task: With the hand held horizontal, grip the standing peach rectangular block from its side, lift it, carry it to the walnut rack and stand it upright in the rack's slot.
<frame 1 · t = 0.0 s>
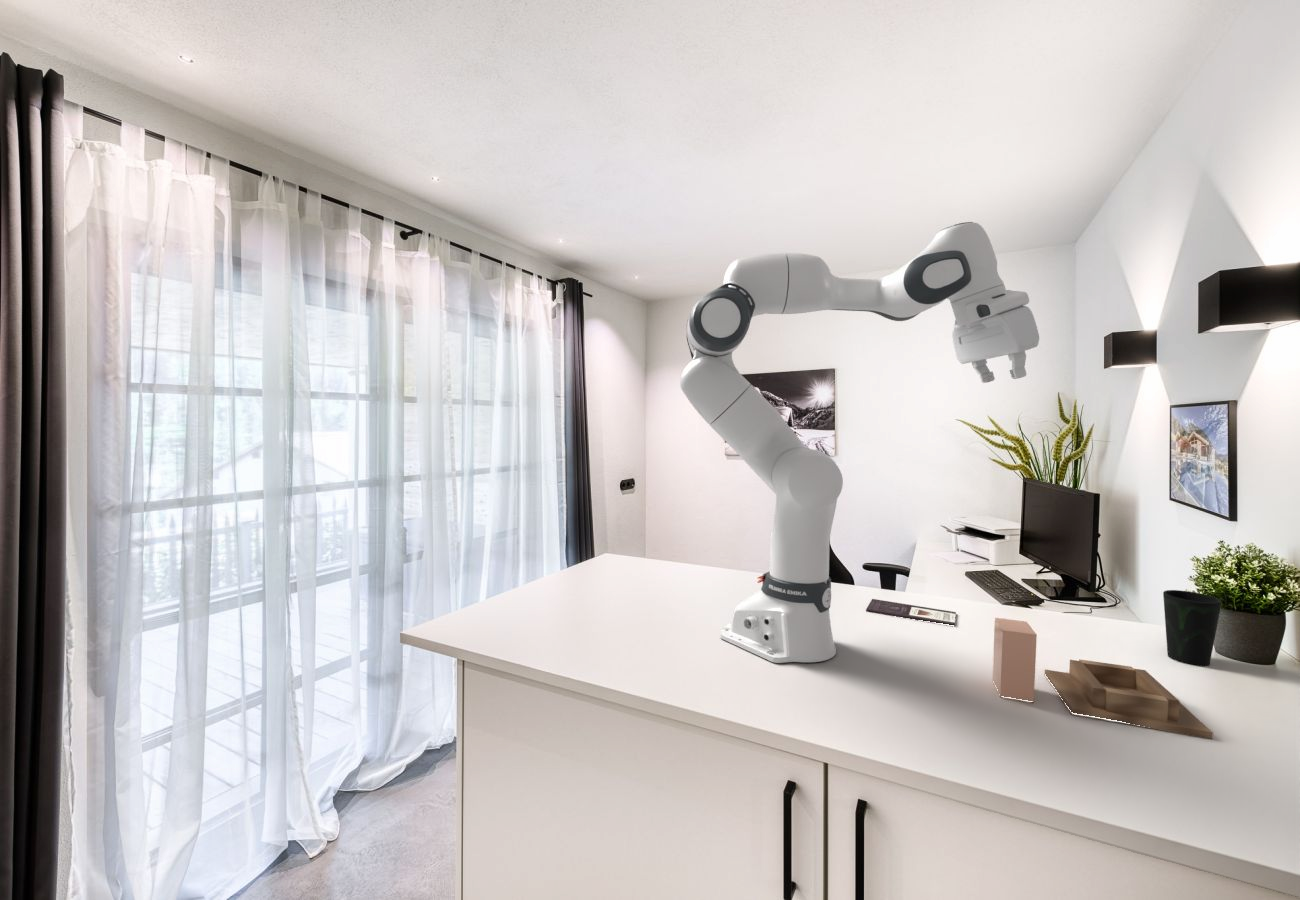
hand: (1003, 379, 101), 52 cm above the cabinet, tool tilted 20°, fingers open, 8 cm apart
chocolate bar: (910, 615, 125), on the cabinet
rack: (1118, 703, 85), on the cabinet
peach rectangular block: (1012, 691, 88), on the cabinet
cup: (1188, 660, 101), on the cabinet
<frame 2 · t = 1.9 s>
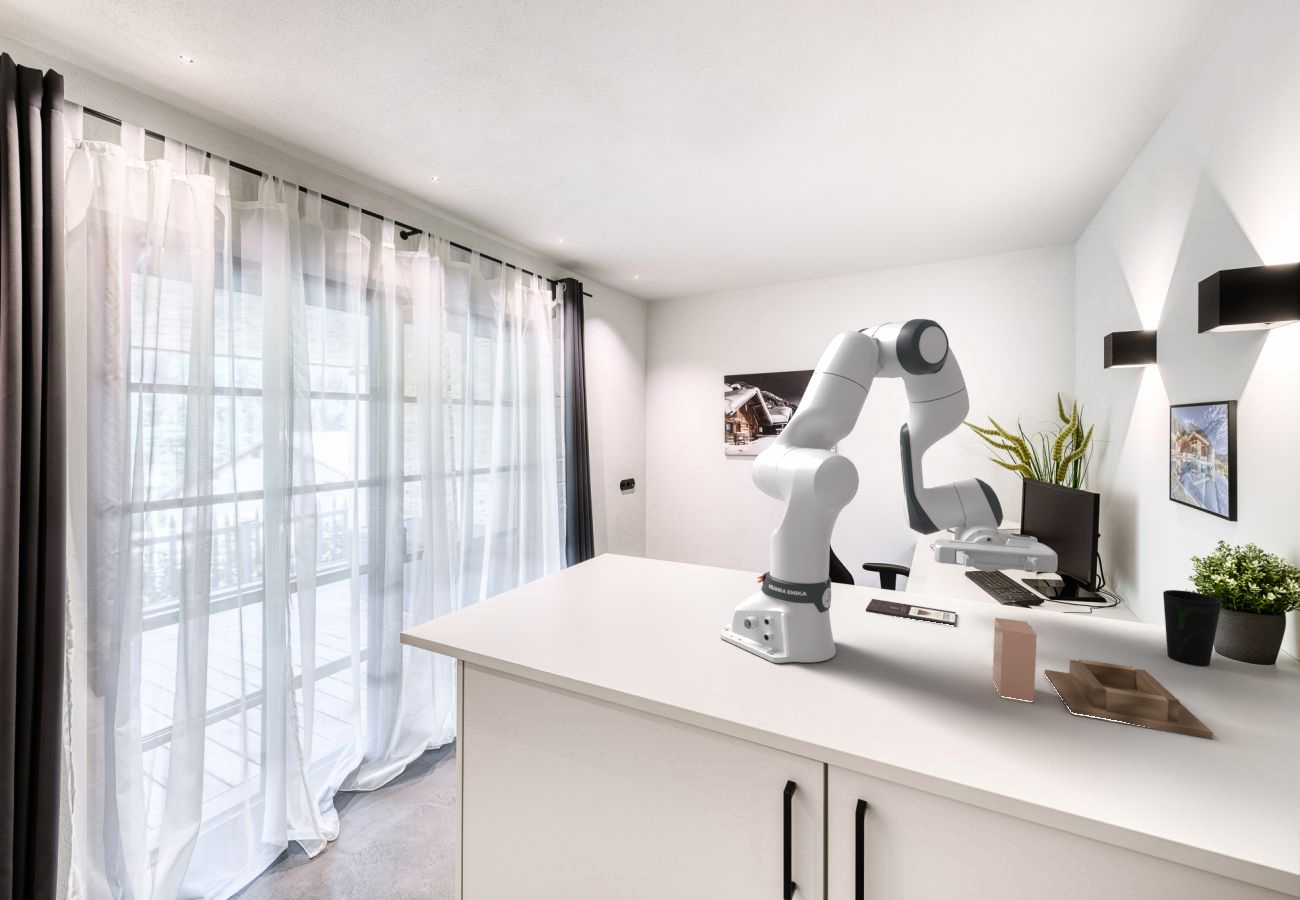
hand: (1000, 565, 99), 18 cm above the cabinet, tool horizontal, fingers open, 8 cm apart
nothing on the cabinet moved.
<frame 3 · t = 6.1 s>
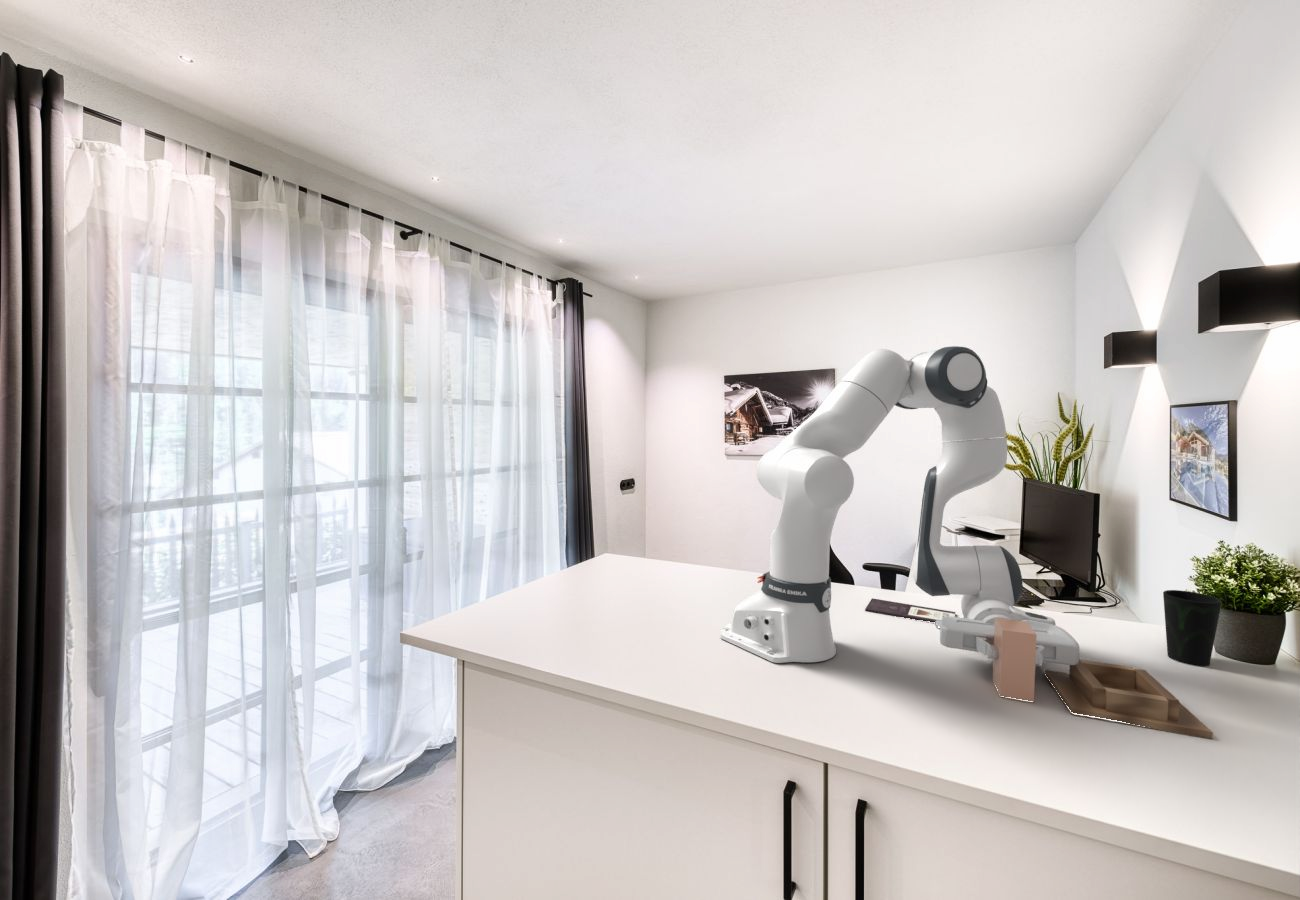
hand: (1015, 657, 87), 6 cm above the cabinet, tool horizontal, fingers closed on peach rectangular block, 4 cm apart
peach rectangular block: (1012, 691, 88), on the cabinet, touching gripper
everything else where it was.
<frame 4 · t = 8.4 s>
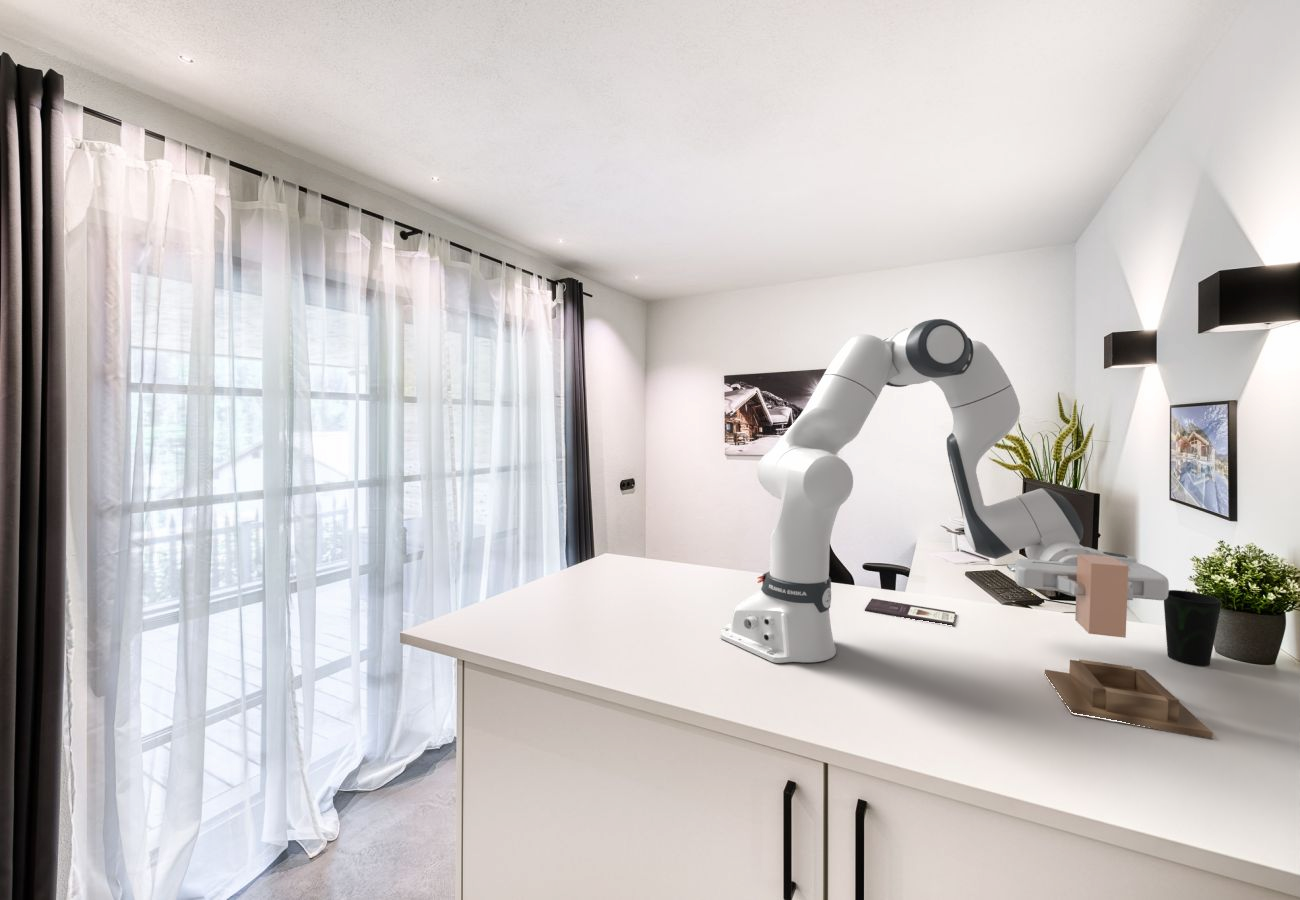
hand: (1103, 592, 84), 18 cm above the cabinet, tool horizontal, fingers closed on peach rectangular block, 4 cm apart
peach rectangular block: (1099, 628, 85), point 12 cm above the cabinet, touching gripper
everything else where it was.
when the fingers open (8 cm above the cabinet, at t = 10.8 s): peach rectangular block stays where it is, resting on rack.
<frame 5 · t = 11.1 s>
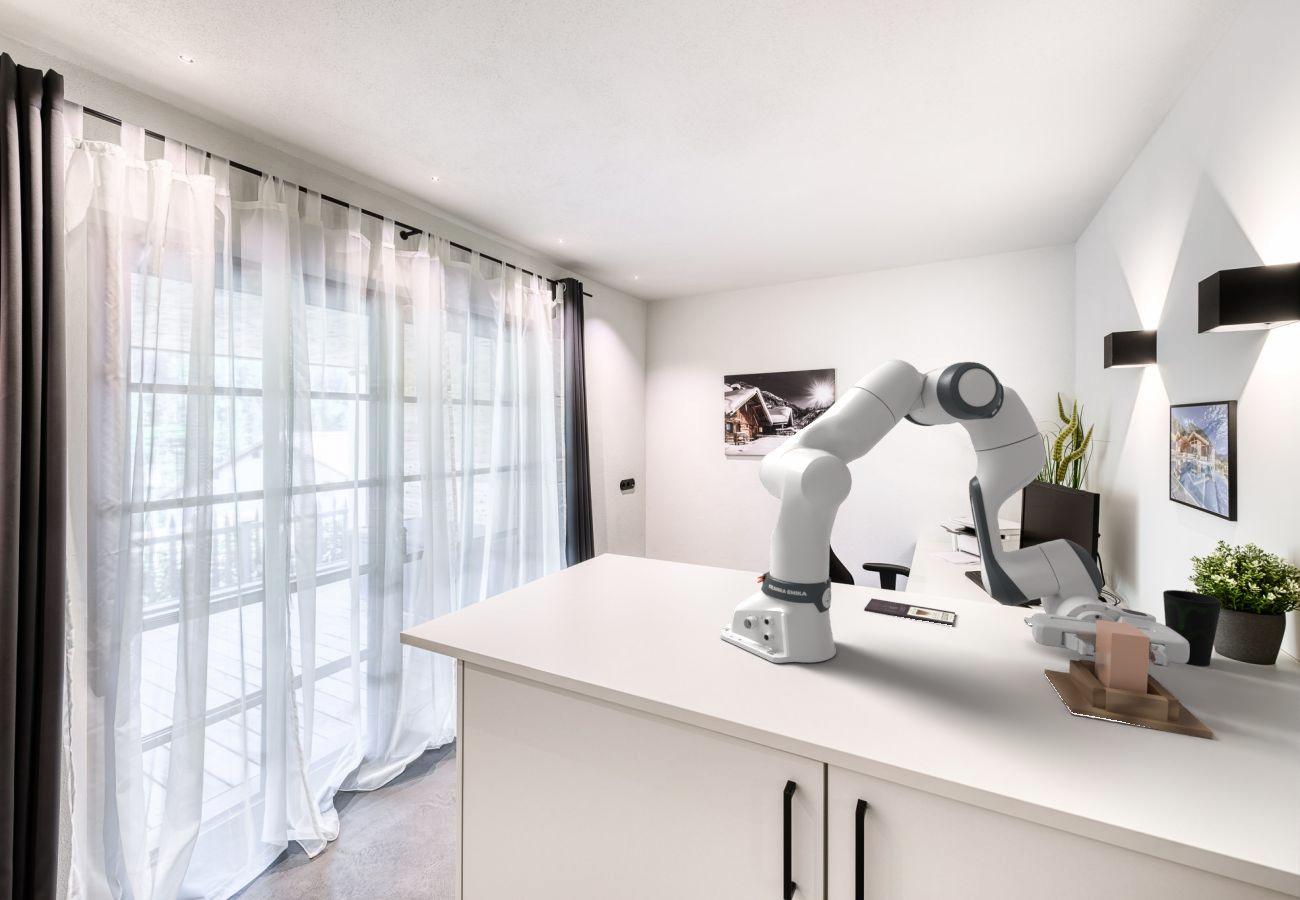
hand: (1123, 655, 83), 8 cm above the cabinet, tool horizontal, fingers open, 8 cm apart
peach rectangular block: (1118, 697, 85), point 1 cm above the cabinet, touching rack
everything else where it was.
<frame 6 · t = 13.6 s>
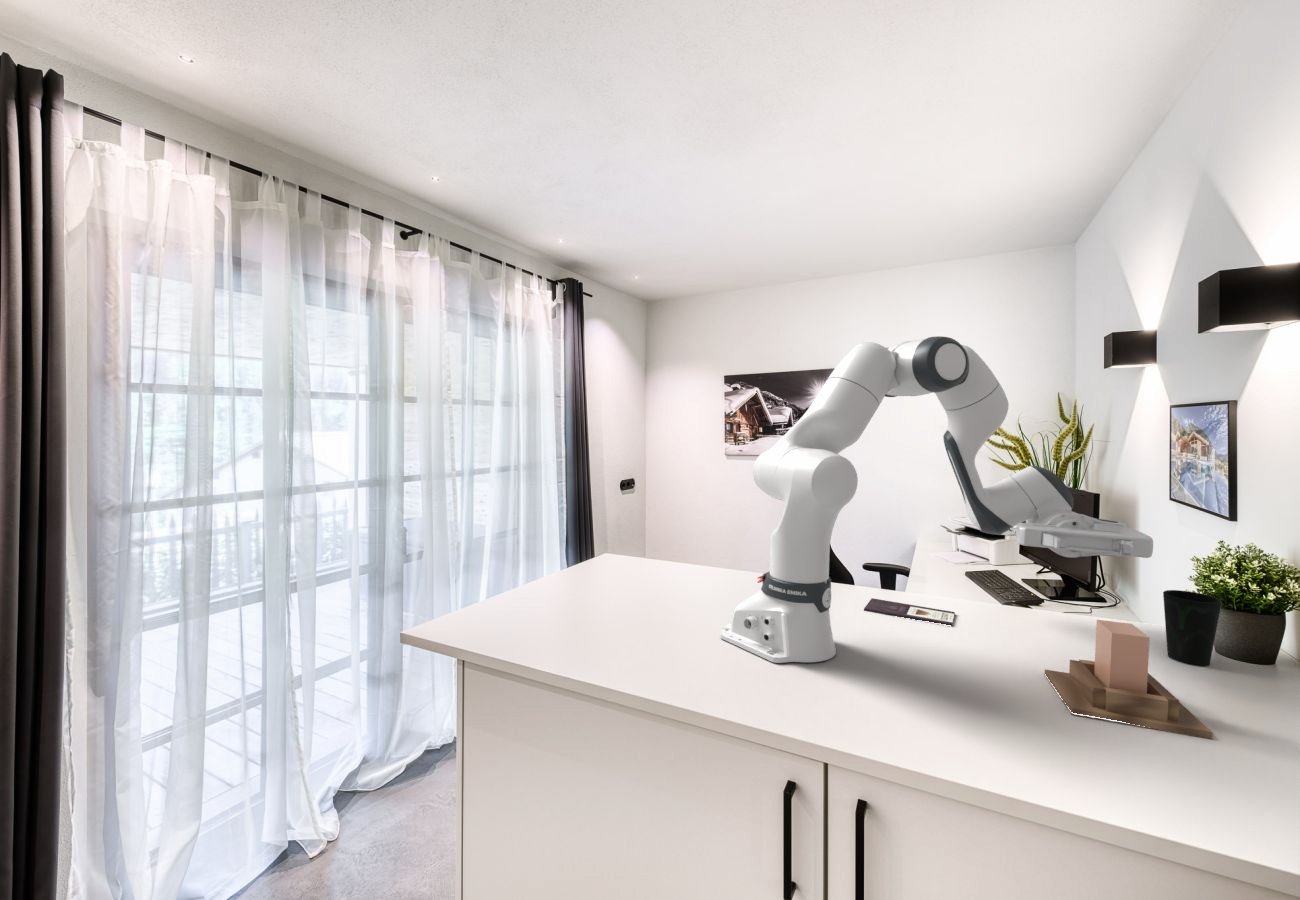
hand: (1094, 547, 95), 22 cm above the cabinet, tool horizontal, fingers open, 8 cm apart
nothing on the cabinet moved.
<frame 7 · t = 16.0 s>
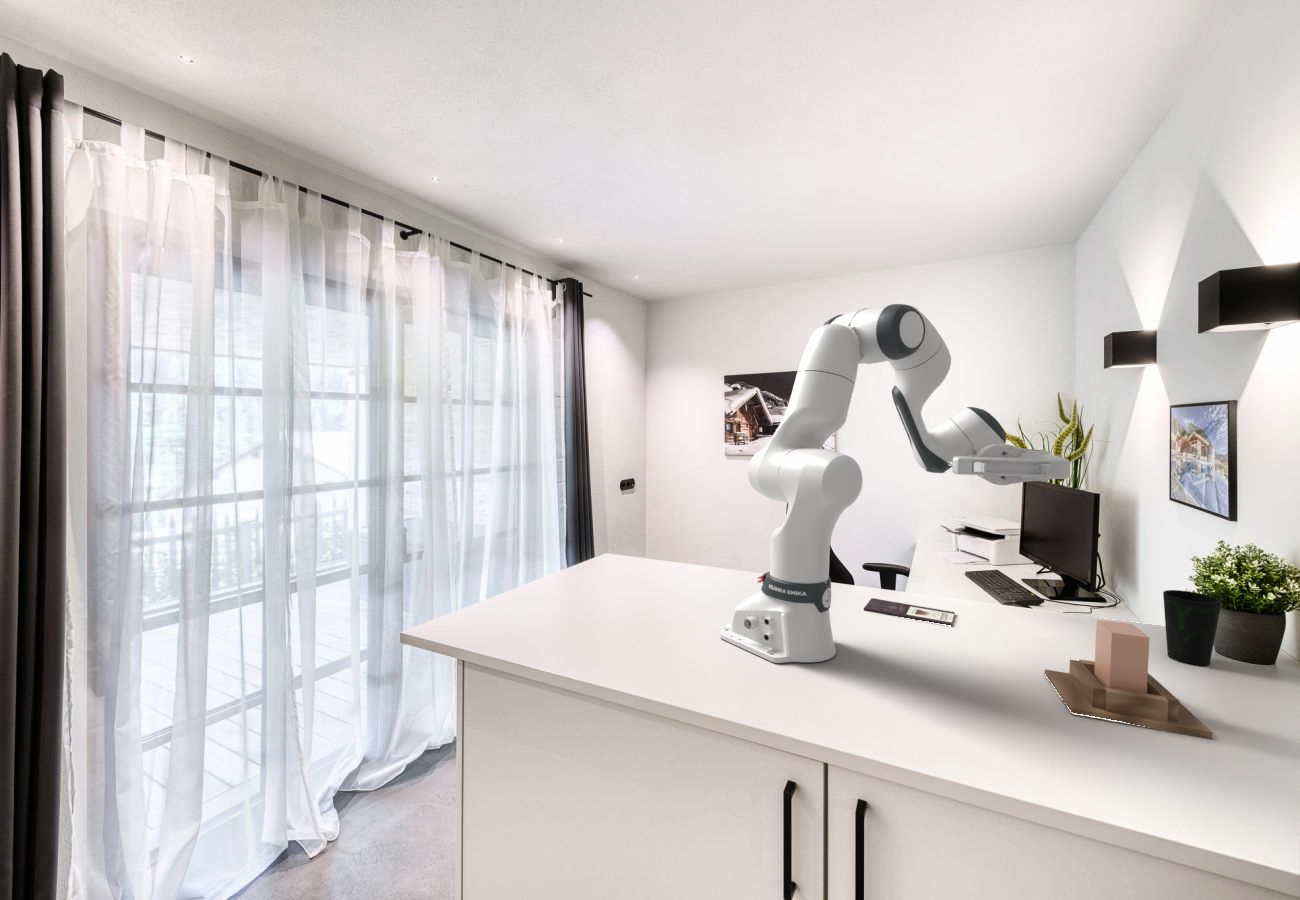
hand: (1016, 469, 105), 35 cm above the cabinet, tool horizontal, fingers open, 8 cm apart
nothing on the cabinet moved.
at the end: peach rectangular block 0.1 cm off-centre on the rack, point 1.0 cm above the rack's base; peach rectangular block tilted 0°; the gripper is holding nothing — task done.
